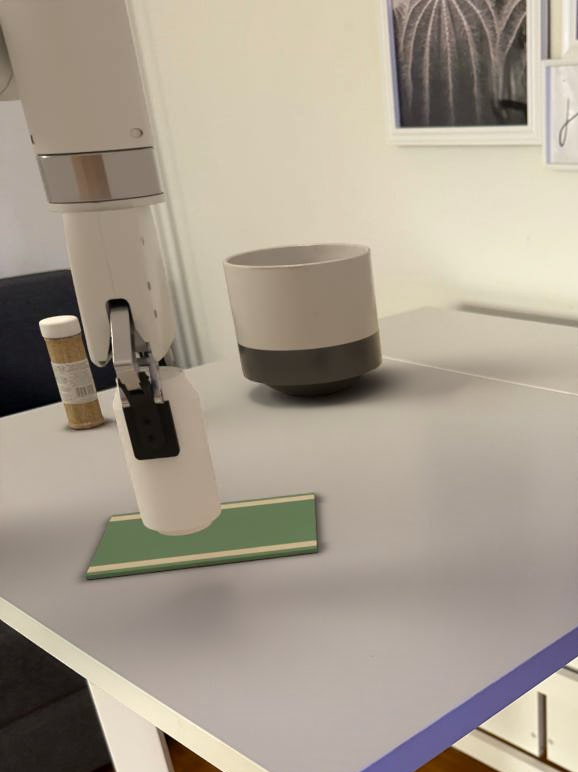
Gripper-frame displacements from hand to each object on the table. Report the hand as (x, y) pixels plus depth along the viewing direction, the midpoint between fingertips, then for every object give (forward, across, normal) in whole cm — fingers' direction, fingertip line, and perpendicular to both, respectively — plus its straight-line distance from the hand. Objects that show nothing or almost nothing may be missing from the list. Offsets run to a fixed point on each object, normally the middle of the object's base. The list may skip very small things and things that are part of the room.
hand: (163, 440), depth 71 cm
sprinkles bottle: (+13, -54, -19) cm, 59 cm away
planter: (+13, -61, +11) cm, 63 cm away
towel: (+13, -12, 0) cm, 18 cm away
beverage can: (+7, 0, 0) cm, 7 cm away
